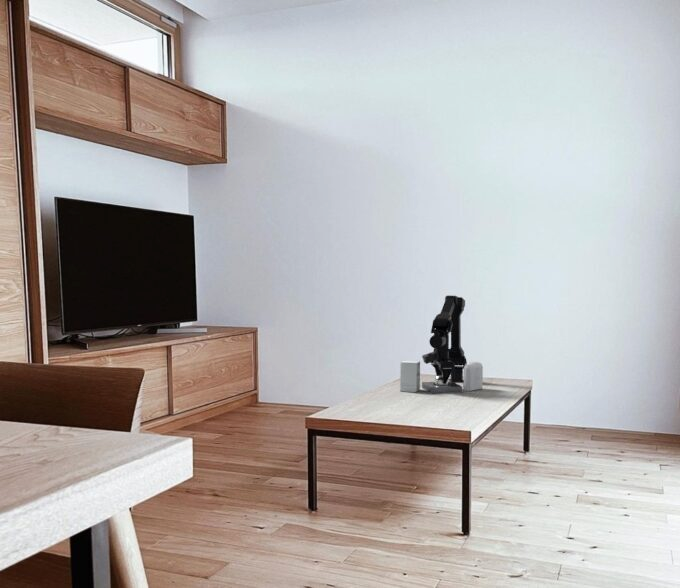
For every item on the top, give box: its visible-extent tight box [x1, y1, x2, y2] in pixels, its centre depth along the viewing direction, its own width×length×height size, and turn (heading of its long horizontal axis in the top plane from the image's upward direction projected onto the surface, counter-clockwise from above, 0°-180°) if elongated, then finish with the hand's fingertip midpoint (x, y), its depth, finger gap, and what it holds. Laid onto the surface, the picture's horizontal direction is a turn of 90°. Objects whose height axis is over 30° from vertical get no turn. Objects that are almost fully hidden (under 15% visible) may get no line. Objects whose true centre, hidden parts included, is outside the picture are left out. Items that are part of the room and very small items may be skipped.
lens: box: [434, 375, 449, 386], centre depth 296 cm, size 6×6×6 cm
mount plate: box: [421, 381, 463, 394], centre depth 296 cm, size 14×14×2 cm
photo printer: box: [462, 360, 484, 392], centre depth 297 cm, size 10×4×12 cm, turn 134°
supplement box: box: [399, 360, 421, 393], centre depth 294 cm, size 7×7×13 cm
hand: (441, 382), depth 296 cm, fingers open, 9 cm apart
